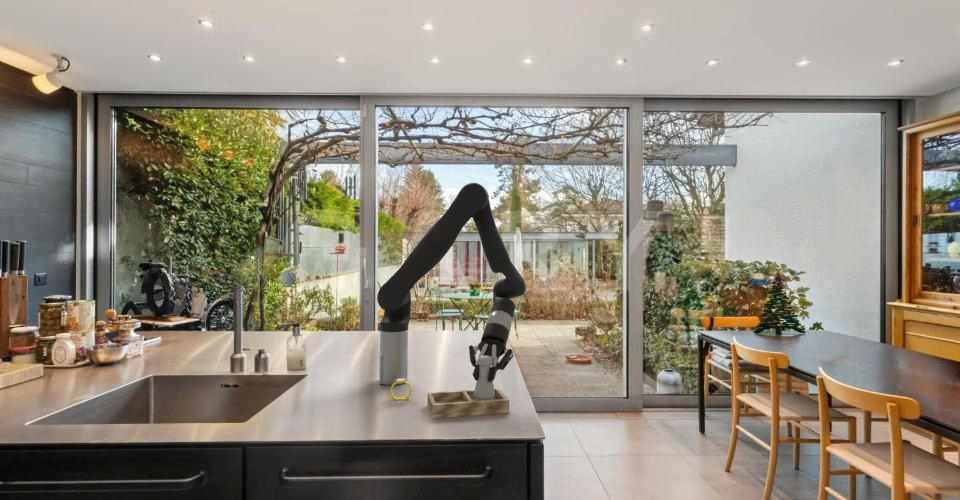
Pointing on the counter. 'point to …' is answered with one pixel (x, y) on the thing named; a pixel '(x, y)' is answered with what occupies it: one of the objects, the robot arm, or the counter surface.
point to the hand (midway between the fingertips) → (482, 379)
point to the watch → (401, 382)
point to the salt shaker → (484, 380)
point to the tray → (465, 404)
